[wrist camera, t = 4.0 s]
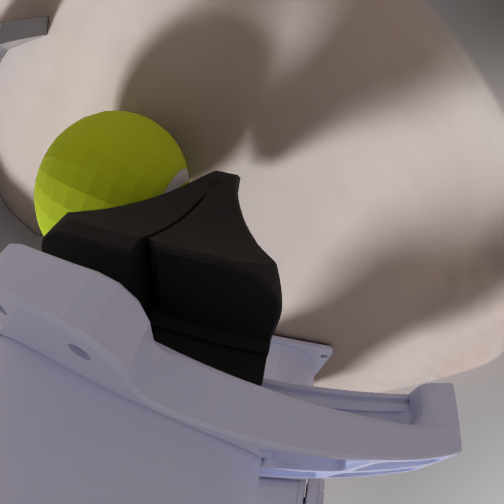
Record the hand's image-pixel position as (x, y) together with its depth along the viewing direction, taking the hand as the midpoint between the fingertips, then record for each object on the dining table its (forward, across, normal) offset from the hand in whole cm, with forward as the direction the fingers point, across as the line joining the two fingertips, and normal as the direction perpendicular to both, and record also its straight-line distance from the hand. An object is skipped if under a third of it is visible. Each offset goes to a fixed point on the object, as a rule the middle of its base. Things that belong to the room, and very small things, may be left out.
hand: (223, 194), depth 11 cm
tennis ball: (+2, +4, 0) cm, 5 cm away
